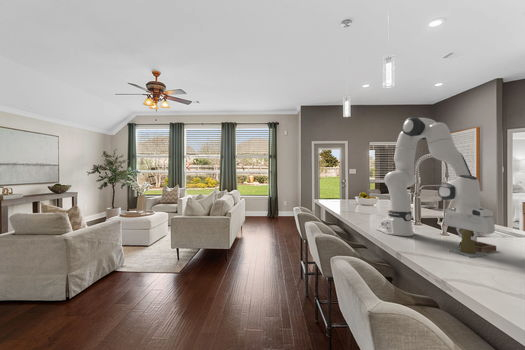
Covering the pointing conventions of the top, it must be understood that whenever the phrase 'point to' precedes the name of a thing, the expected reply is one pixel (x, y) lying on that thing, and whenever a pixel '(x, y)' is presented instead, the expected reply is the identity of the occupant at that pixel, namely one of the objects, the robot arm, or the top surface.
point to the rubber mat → (467, 253)
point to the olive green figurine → (467, 242)
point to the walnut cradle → (483, 247)
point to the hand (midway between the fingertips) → (467, 239)
